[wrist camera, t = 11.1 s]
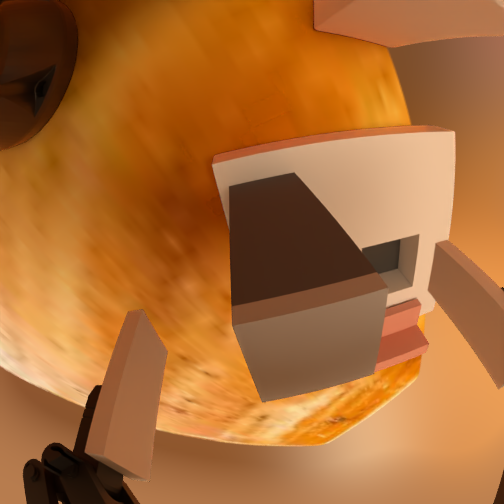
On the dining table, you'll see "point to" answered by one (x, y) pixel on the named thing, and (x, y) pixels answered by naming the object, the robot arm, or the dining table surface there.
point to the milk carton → (409, 19)
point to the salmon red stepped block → (401, 335)
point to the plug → (300, 291)
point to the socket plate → (368, 193)
